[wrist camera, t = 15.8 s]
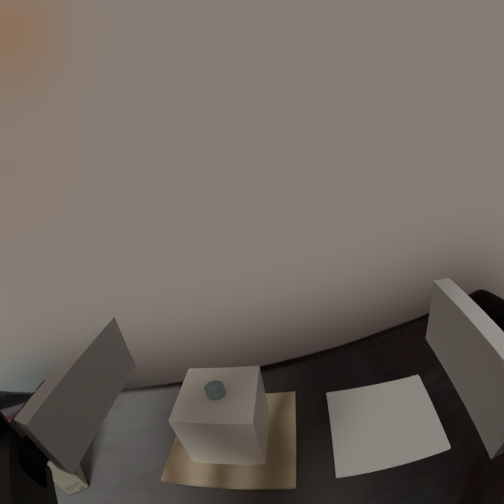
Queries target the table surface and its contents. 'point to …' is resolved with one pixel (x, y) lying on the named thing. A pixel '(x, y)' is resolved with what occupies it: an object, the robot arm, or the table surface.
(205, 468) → the birch board
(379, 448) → the grey mat
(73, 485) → the skincare box
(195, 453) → the dust cover
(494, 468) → the table surface
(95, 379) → the robot arm
